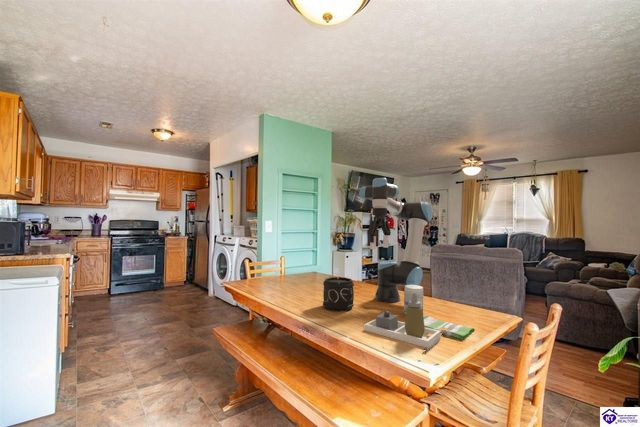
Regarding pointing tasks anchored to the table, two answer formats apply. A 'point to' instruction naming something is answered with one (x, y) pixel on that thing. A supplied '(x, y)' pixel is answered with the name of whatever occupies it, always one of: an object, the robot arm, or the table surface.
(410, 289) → the supplement tub
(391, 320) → the block
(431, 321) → the dish towel
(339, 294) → the black marked cylinder
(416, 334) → the squeeze bottle
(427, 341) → the tray
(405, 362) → the table surface
